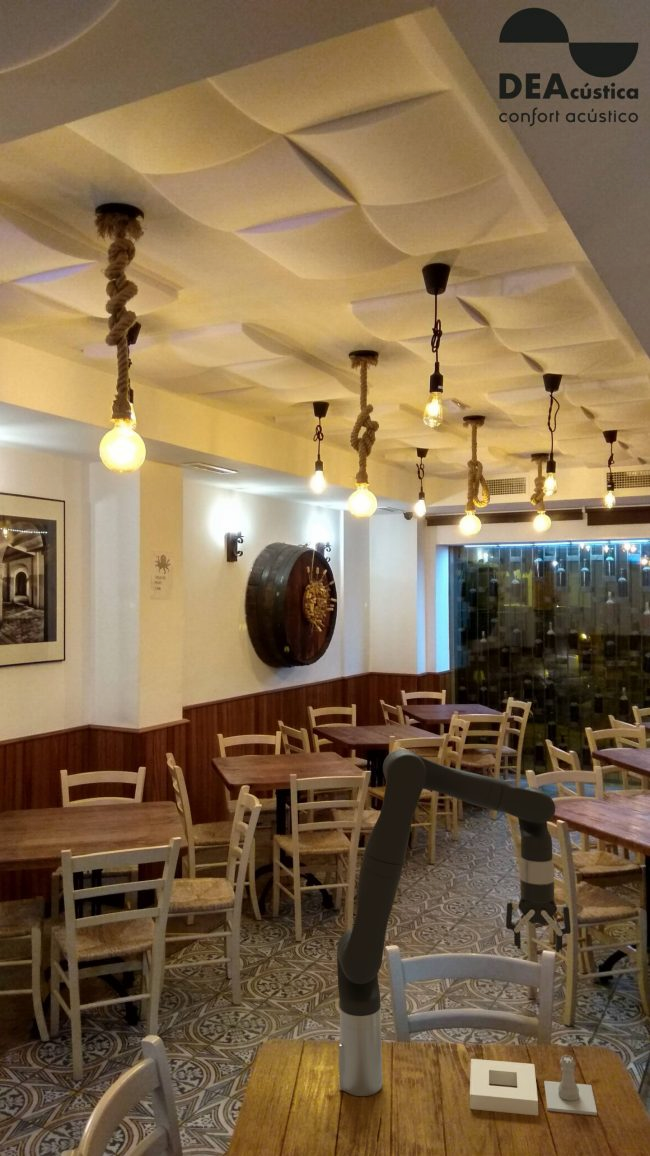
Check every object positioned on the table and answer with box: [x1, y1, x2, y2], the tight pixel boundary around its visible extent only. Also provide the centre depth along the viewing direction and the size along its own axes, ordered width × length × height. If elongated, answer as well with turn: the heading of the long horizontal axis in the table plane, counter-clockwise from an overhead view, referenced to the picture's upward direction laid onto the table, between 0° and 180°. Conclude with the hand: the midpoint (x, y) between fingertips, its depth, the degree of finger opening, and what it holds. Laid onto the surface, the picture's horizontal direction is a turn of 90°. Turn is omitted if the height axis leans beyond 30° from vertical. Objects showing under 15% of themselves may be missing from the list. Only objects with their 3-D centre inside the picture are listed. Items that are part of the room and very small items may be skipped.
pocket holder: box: [469, 1058, 539, 1116], centre depth 179 cm, size 14×14×3 cm
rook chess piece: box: [558, 1054, 579, 1101], centre depth 176 cm, size 4×4×8 cm
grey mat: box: [543, 1080, 598, 1116], centre depth 176 cm, size 10×10×1 cm
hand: (538, 949), depth 187 cm, fingers open, 8 cm apart
